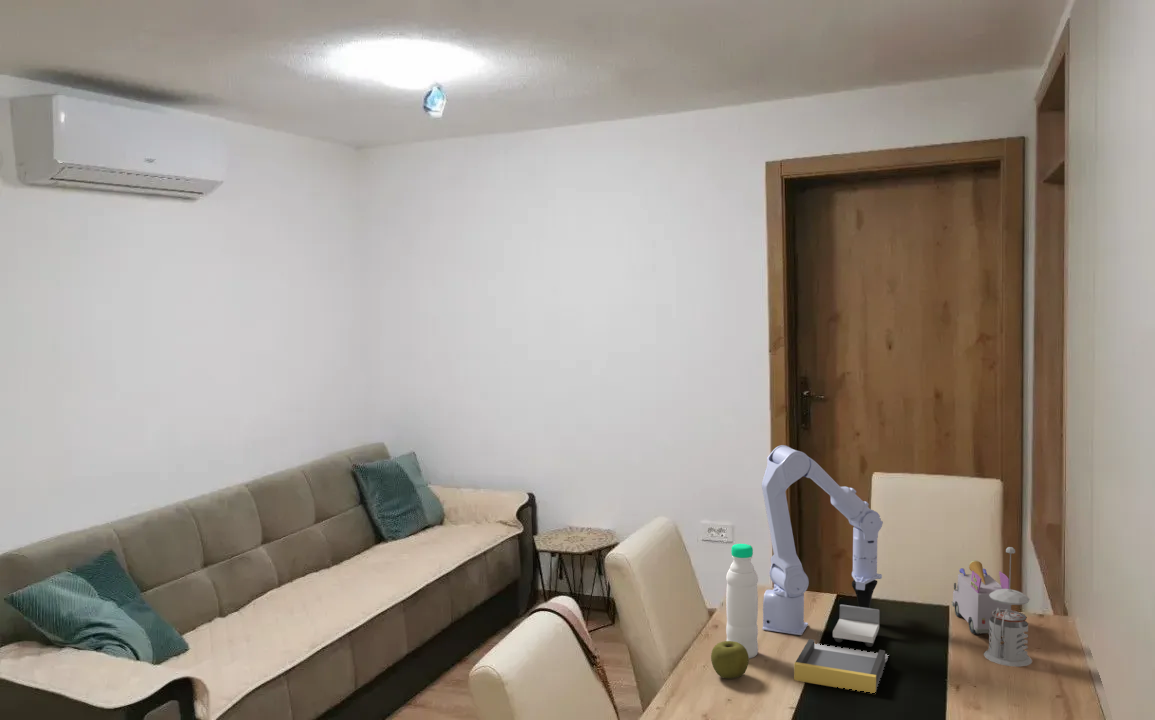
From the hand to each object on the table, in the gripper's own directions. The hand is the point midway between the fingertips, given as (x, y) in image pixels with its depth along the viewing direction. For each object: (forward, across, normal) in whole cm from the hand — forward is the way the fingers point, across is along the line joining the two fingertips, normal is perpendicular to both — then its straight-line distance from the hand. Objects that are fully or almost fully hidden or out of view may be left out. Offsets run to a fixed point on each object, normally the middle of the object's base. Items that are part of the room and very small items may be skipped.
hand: (864, 610), depth 228 cm
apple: (+3, -45, +21) cm, 50 cm away
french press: (+3, -11, -32) cm, 34 cm away
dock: (+3, -30, 0) cm, 30 cm away
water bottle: (+3, -32, +22) cm, 39 cm away
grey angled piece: (+3, -12, 0) cm, 13 cm away
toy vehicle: (+3, +8, -26) cm, 27 cm away
